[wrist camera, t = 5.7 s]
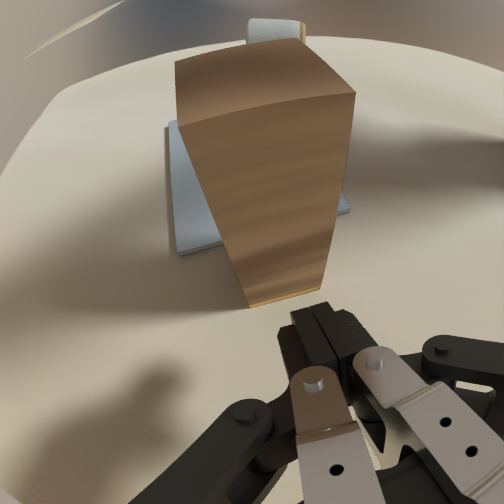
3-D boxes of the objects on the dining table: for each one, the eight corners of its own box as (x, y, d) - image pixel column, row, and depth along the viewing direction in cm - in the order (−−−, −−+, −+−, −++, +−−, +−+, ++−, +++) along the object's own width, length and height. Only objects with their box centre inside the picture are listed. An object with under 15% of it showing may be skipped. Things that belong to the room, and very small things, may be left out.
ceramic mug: (307, 72, 35) (305, 24, 28) (249, 73, 36) (241, 26, 29) (305, 48, 40) (304, 9, 33) (257, 48, 41) (252, 10, 34)
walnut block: (319, 289, 20) (355, 92, 7) (250, 308, 20) (177, 127, 7) (299, 230, 22) (296, 37, 9) (236, 247, 22) (174, 61, 9)
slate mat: (349, 212, 23) (350, 207, 22) (179, 256, 23) (176, 252, 22) (284, 97, 32) (284, 94, 31) (170, 126, 31) (168, 122, 31)
